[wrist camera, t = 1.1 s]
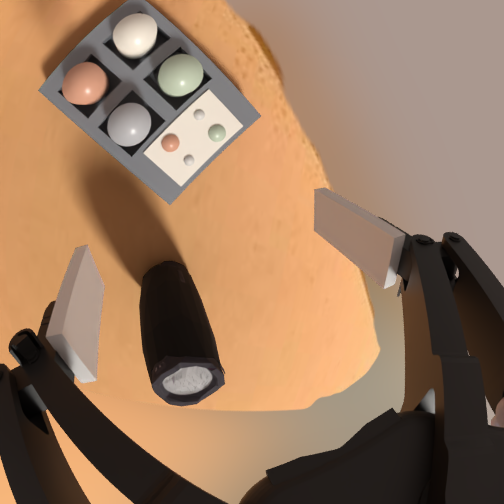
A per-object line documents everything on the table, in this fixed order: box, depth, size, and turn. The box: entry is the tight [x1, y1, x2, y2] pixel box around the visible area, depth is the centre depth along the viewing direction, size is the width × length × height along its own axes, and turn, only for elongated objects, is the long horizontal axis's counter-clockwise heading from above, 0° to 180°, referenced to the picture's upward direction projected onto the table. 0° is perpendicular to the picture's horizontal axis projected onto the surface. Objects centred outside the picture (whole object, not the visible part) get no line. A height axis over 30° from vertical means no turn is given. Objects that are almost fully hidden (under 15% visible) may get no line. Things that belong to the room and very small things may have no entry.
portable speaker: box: [139, 261, 225, 406], centre depth 34 cm, size 9×9×20 cm
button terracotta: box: [62, 62, 110, 105], centre depth 21 cm, size 4×4×4 cm
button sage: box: [157, 54, 203, 97], centre depth 24 cm, size 4×4×4 cm
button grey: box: [107, 103, 151, 146], centre depth 25 cm, size 4×4×4 cm
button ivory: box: [113, 13, 157, 59], centre depth 20 cm, size 4×4×4 cm
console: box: [38, 0, 261, 205], centre depth 26 cm, size 22×15×5 cm
